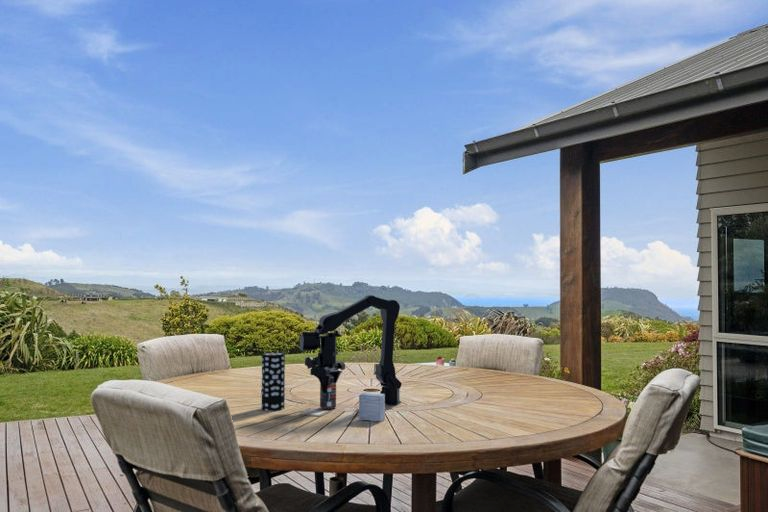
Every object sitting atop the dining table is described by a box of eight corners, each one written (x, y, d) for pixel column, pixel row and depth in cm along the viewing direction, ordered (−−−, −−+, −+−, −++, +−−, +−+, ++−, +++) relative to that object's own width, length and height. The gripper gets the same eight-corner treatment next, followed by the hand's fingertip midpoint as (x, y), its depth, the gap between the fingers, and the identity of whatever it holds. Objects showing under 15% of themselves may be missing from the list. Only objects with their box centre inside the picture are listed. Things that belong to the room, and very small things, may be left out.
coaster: (328, 412, 219) (328, 410, 219) (319, 416, 211) (319, 415, 211) (308, 410, 221) (308, 409, 221) (298, 415, 214) (298, 413, 214)
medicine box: (385, 419, 207) (385, 393, 207) (380, 422, 203) (380, 395, 203) (363, 417, 209) (363, 392, 210) (358, 420, 205) (358, 394, 206)
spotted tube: (288, 407, 227) (289, 353, 228) (275, 411, 219) (276, 355, 220) (270, 405, 230) (270, 352, 231) (256, 409, 223) (257, 354, 224)
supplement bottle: (333, 409, 222) (333, 378, 222) (317, 409, 223) (318, 377, 224) (338, 406, 228) (338, 376, 228) (322, 406, 229) (322, 375, 229)
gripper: (319, 346, 238) (319, 386, 237) (297, 351, 220) (297, 395, 219) (345, 347, 234) (345, 388, 233) (325, 352, 217) (325, 396, 216)
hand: (328, 391), depth 226 cm, fingers closed on supplement bottle, 6 cm apart
